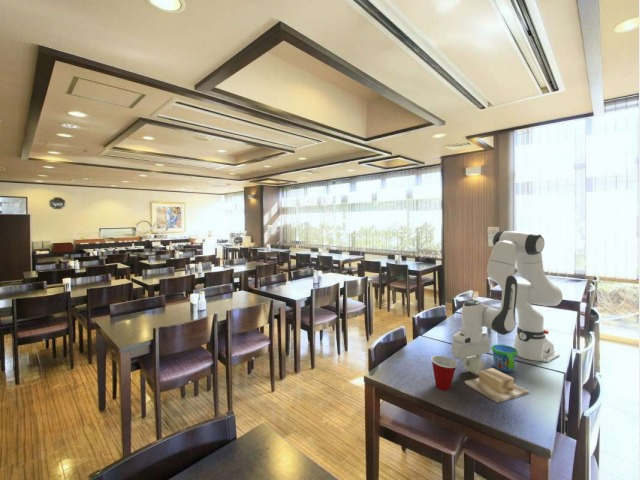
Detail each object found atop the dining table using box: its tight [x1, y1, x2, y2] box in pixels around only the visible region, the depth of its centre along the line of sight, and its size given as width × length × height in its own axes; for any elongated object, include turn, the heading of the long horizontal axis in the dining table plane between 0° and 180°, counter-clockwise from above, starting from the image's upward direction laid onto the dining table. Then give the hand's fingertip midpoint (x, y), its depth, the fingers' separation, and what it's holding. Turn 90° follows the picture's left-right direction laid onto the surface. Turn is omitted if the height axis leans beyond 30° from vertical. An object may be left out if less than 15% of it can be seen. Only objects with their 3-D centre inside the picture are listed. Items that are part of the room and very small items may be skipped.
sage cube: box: [462, 356, 481, 373], centre depth 147 cm, size 5×5×5 cm
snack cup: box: [491, 344, 518, 373], centre depth 151 cm, size 16×10×10 cm
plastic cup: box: [430, 355, 459, 392], centre depth 135 cm, size 11×11×12 cm
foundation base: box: [464, 367, 530, 404], centre depth 134 cm, size 18×16×6 cm
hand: (471, 364), depth 147 cm, fingers closed on sage cube, 5 cm apart
